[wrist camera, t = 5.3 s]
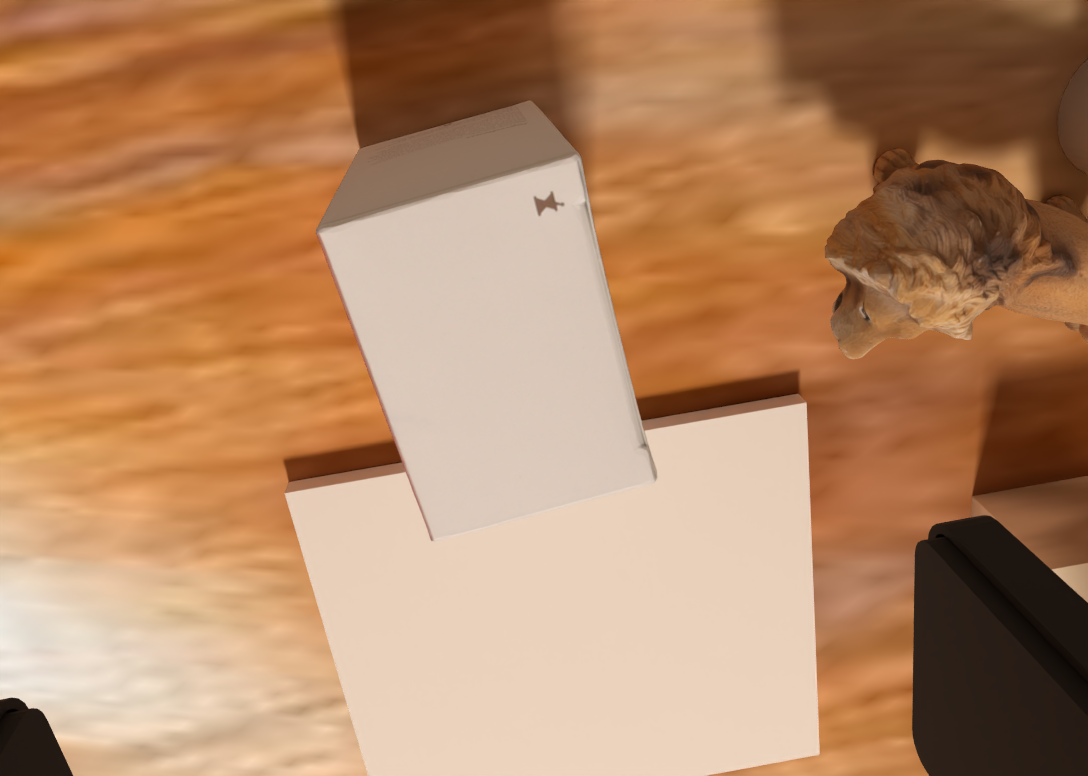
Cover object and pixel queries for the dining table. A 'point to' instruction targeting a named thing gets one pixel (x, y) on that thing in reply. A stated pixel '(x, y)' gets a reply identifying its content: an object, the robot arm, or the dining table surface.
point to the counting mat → (582, 614)
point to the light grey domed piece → (1075, 119)
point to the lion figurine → (953, 254)
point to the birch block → (1047, 524)
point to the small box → (487, 320)
